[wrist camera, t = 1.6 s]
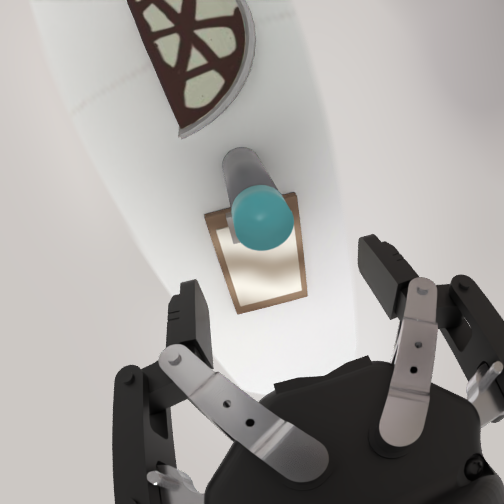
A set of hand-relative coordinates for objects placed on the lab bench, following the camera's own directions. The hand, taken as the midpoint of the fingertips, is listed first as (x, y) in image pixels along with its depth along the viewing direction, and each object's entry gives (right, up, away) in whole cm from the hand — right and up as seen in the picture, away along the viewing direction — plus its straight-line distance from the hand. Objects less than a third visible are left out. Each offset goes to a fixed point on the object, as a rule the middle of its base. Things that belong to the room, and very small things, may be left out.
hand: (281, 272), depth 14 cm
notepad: (0, 0, +19) cm, 19 cm away
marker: (-2, +9, +12) cm, 15 cm away
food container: (-6, +18, +5) cm, 20 cm away
